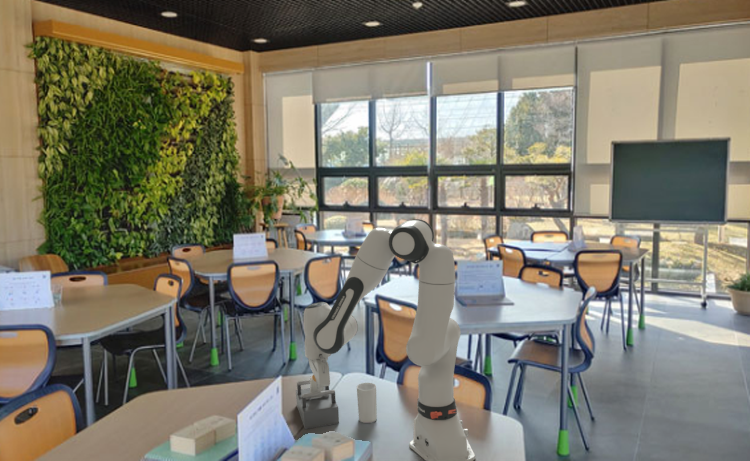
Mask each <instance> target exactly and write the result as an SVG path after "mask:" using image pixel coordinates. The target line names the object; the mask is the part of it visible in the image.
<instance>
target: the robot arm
mask: <svg viewBox="0 0 750 461" xmlns="http://www.w3.org/2000/svg"><path fill="white" fill-rule="evenodd" d="M434 236H435V233H434V229H433V227H432V226H431V224H430V223H428V221H426V220H423V219H421V218H420V219H418V218H417V219H411V220H407V221H404V222H402V223H401V224H399V225H397V226H395V228H393V229H392V230H389V229H388V228H384V227H375V228H373V229H371V230H370V232H368V234H367V236H366V237H365V239H364V240H363V242H362V243H361V245H360V247H359V249H358V251H357V252H356V255H355V257H354V260H353V262H352V265H351V267H350V269H349V272H348V275H347V277H346V279H345V282H344V284H343V286H342V289H341V290H340V293H339V294H338V296H337V298H336V299H335V302H334V304H333V306H330V305H329V303H327V302H324V301H319V302H314V303H311V304H309V305H308V306H306V307H305V308H304V312H303V332H304V336H305V337H304V354H305V355H304V356H305V357H306V358H307V359H308V365H309V368H310V371H312V375H313V374H314V376H315V378H316V383H317V388H318V391H323V390H324V387H325V386H329V387H330V385H331V377H330V376H331V374H330V367H329V363H328V360H329V358H330V357H331V356H332V354H333V355H334V354H336V353H338V352H339V351H340V350H341V349H342V348H343V346H345V345H346V344H347V343H348V342H350V341H351V340H352V339H354V337H355V336H356V335H357V333H358V331H359V330H358V329H359V325H358V321H357V320H356V318H355V316H353V315H352V314H353V312H354V311H355V309H356V307H357V305H358V304H359V303H360V301H361V300H362V299H364V297H365V296H366V295H368V294H369V293H370V292H371V291H373V290H374V289H375V288H376V287H378V285H380V283H381V282H382V280H383V279H384V277H385V276H386V275H387V272H388V270H389V268H390V266H391V265H392V262H393V260H394V259H395V257H397V258H399V259H401V260H403V261H407V262H410V263H412V264H418V269H419V270H418V293H417V296H418V298H417V306H416V311H415V316H414V320H413V324H412V328H411V333H410V336H409V338H408V340H407V343H406V346H405V348H406V349H405V351H406V355H407V357H408V359H409V360H410V361H411V362H412V363H413V364H415V365H417V366H418V367H419V366H420V369H419V372H418V374H417V376H418V377H417V383H418V384H417V385H418V387H417V388H418V398H417V402H416V406H417V412H418V413H417V415H416V417H415V418H414V419H413V439H412V440H411V441H410V442H409V445H408V447H409V448H410V449H411V450H413V451H414V452H415V453H416V454H418V456H419V457H421V458H422V459H424V461H474V460H476V454H475V452H474V451H473V449H472V446H471V445H470V444H471V443H470V442H469V440H468V438H467V437H469V435H470V434H469V429H468V428H463V425H464V423H463V420H462V419H460V416H459V414H458V410H457V404H456V400H455V399H456V398H455V397H454V396H455V393H454V391H455V390H454V373H455V367H456V366H455V365H456V359H457V354H458V353H457V351H458V345H459V341H460V338H461V333H462V332H461V327H460V326H459V324H458V322H457V321H456V320H455V319H453V318H451V314H452V311H453V309H454V306H455V288H456V287H455V286H456V267H455V257H454V253H453V251H452V249H451V248H450V247H449V246H447V245H445V244H441V243H440V244H439V243H436V242H434V238H435V237H434Z"/></svg>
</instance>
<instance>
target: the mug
mask: <svg viewBox="0 0 750 461" xmlns="http://www.w3.org/2000/svg"><path fill="white" fill-rule="evenodd" d="M356 398H357V410H358V412H357V413H358V420H359V422H361V423H364V424H370V423H374V422H375V421H377V418H378V417H377V416H378V415H377V413H378V412H377V406H378V405H377V385H376V384H375V383H373V382H362V383H359V384H358V385H357V386H356Z"/></svg>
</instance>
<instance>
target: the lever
mask: <svg viewBox="0 0 750 461" xmlns="http://www.w3.org/2000/svg"><path fill="white" fill-rule="evenodd" d="M309 380H310V384H309V388H310V393H314V392H321V391H318V388H317V383H316V378H315V376H314V374H313V373H312V375H311V376H310V377H309ZM317 397H322V396H316V397H310V398H317Z"/></svg>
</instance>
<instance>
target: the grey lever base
mask: <svg viewBox="0 0 750 461" xmlns="http://www.w3.org/2000/svg"><path fill="white" fill-rule="evenodd" d="M304 385H310V379H308V380H301V381H297V382H296V387H297V388H296V390H295V400H296V401H295V402H296V407H297V408H296V409H297V410H298V413H299V416H300V419H301V422H302V425H303V428H304V429H305V430H306V429H307V430H308V429H312V428H313V429H314V428H320V427H325V426H331V425H332V426H333V425H337V424H340V416H339V406H338V404H337V402H336V401H337V400H336V390H335V389H330V385H329V386H325V387H324V390H323V391H321V392H314V393H310V387H308V388H302V386H304ZM316 396H322V397H317V398H310V397H316Z"/></svg>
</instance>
